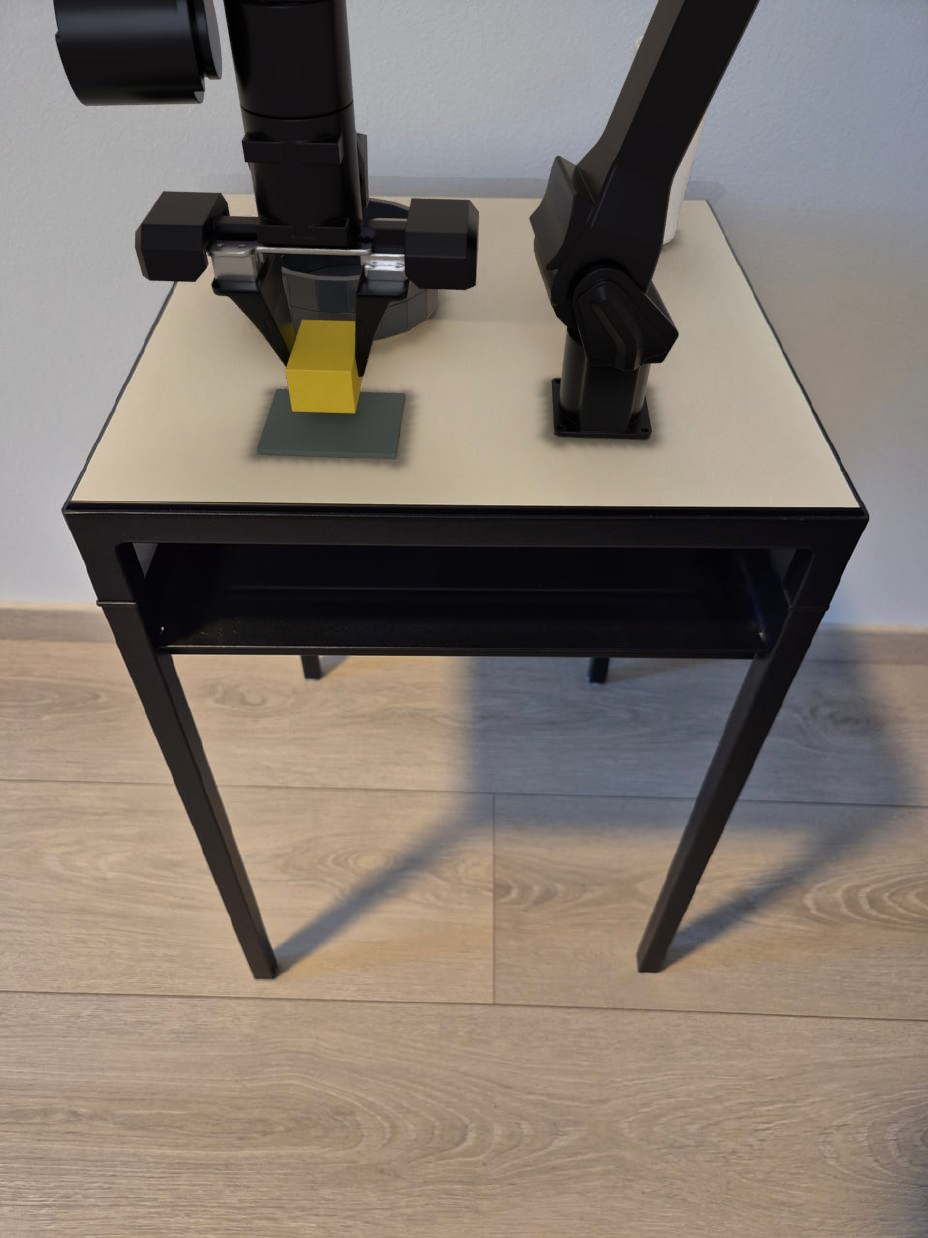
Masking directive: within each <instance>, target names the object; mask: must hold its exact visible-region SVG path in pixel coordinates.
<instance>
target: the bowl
mask: <svg viewBox="0 0 928 1238" xmlns="http://www.w3.org/2000/svg"><path fill="white" fill-rule="evenodd" d="M409 208H410V206H408V205H406V204H402V203H399V202H398V201H394V200H393V201H392V200H387V199H382V198H375V197H369V202H368V206H367V208H362V220H372V219H376V218H393V219H407V218H408V213H409ZM281 265H282V278H283V284H284V288H285V293H286V297H287V301H288V305H289V310H290V314H291V318H292V323H293V327H294V331H295V335H296V336H297V333H298V330H299V327H300V324H301V321H302V320H326V321H355V303H356V289H357V285H358V281H359V277H360V274H361V270H362V266H361V259H360V257H338V256H304V255H281ZM440 291H441V289H419V288H418V287H417V286H416V285H415V284H414V283H413V282H412V281H411V285H410V291H409V296H408V298H407V299H406V300H403V301H392V302H390V303H389V306H388V308H387V310H386V312H385V314H384V316H383V318H382V320H381V322H380V324H379V327H378V329H377V331H376V334H375V337H374V340H373V342H374V341H381V340H385V339H389V338H392V337H394V336H398V335H401V334H404V333H407V332H410V331H411V330H413V329H415V328H416V327H418V326H419V325H421V324H423V323H424V322H426V321H428V320H429V318H430V316H431V315H432V314H433V313H434V312H435V310H436V309H437V308H438V307H439V300H440Z"/></svg>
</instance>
